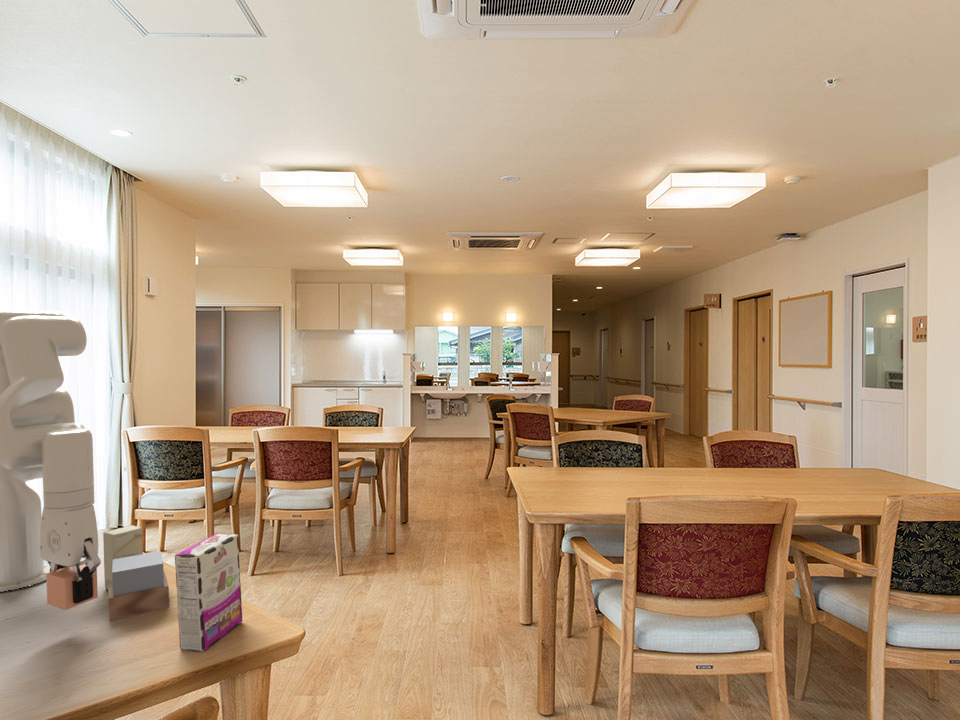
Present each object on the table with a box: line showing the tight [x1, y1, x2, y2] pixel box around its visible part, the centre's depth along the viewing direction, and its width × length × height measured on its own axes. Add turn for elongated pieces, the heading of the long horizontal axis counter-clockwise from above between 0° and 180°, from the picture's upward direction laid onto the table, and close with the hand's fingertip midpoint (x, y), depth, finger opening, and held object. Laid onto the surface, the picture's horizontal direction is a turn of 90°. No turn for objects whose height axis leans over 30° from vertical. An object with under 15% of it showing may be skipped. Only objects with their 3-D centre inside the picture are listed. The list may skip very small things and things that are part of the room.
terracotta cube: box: [45, 564, 99, 611], centre depth 108 cm, size 6×6×6 cm
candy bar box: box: [174, 533, 243, 653], centre depth 104 cm, size 11×5×16 cm, turn 168°
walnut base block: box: [107, 570, 170, 621], centre depth 118 cm, size 10×10×4 cm
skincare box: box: [102, 524, 144, 590], centre depth 128 cm, size 6×4×12 cm
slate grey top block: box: [112, 550, 165, 596], centre depth 118 cm, size 8×8×4 cm
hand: (72, 596), depth 108 cm, fingers closed on terracotta cube, 5 cm apart
